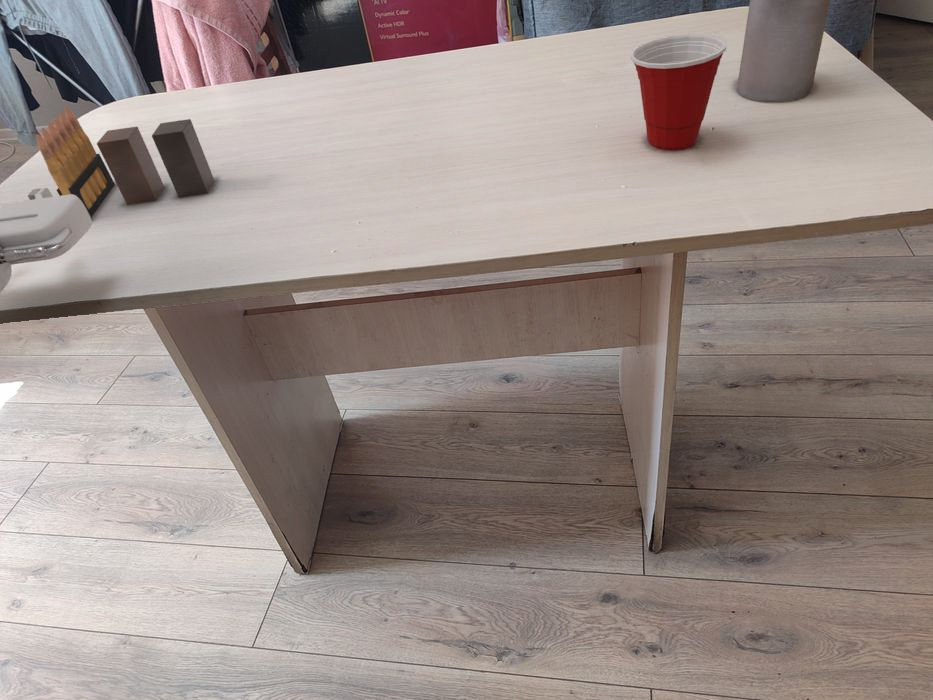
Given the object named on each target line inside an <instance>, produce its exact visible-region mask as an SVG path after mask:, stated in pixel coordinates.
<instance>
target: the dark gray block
mask: <svg viewBox="0 0 933 700" xmlns="http://www.w3.org/2000/svg"><path fill="white" fill-rule="evenodd" d="M151 138H152V140H153V142H154V144H155V147H156V149H157V151H158V153H159V156H160V158H161V160H162V163H163V165H164V168H165V170H166V172H167V174H168V177H169V179H170V182H171V183H172V185H173V188H174V190H175V192H176V195H177V197H178V199H179V198H186V197H193V196H194V197H195V196H200V195H201V196H202V195H208V194H209V192H210V190H211V189H212V186H213V184H214V182H215V178H214V175H213V173H212V170H211V168H210V165H209V163H208V160H207V158H206V154H205V152H204V150H203V147H202V145H201V142H200V139H199V137H198V135H197V132H196V129H195V126H194V124H193V122H192V119H190V118H188V119H181V120H173V121H165V122H161V123H159V124H158V126H157V127H156V129H155V130H154V132H153V133H152V134H151Z"/></svg>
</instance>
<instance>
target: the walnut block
mask: <svg viewBox="0 0 933 700" xmlns="http://www.w3.org/2000/svg"><path fill="white" fill-rule="evenodd" d="M96 145H97V148H98V149H99V152H100V153H101V155H102V158H103V160H104V161H105V164H106V165H107V167H108V170H109V172H110V173H111V176H112V177H113V180H114V183H115V185H116V186H117V187H118V190H119V191H120V194H121V196H122V198H123V200H124V202H125V204H126V205H127V206H129V205H135V204H141V203H142V204H143V203H149V202H156V201H158V199H159V197H160V196H161V194H162V192H163V190H164V188H165V185H164V183H163V179H162V178H161V176H160V174H159V171H158V170H157V167H156V165H155V162H154V160H153V158H152V156H151V154H150V152H149V149H148V146H147V144H146V142H145V140H144V137H143V136H142V133H141V132H140V129H139V126H130V127H124V128H116V129H110V130H109V129H108V130H107V131H106V132H105V133H104V134H103V135H102V136H101V137H100V139H99V140H98V141H97V142H96Z"/></svg>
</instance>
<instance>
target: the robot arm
mask: <svg viewBox="0 0 933 700" xmlns="http://www.w3.org/2000/svg"><path fill="white" fill-rule="evenodd" d="M27 197H28V199H26V200H19V201H11V202H5V203H0V294H1V293H2V292H3V290H4V289H5V288H6V286H8V284H9V282H10V280H11V277H12V272H13V271H12V265H13V266H14V265H20V264H27V263H34V262H41V261H42V262H43V261H47V260H52V259H56V258H58V257H60V256H62V255H65V254H66V253H67V252H68V251H70V250H71V249H72V248H73V247H74V246H76V244H77V243H78V242H80V240H81V239H82V238H83V237H84V236H85V235H86V234H87V232H88V231H90V229H91V228H92V225H93V220H92V217H90V215H89V213H88V211H87V209H86V207H85V206H84V204H83V203H82V201H81V200H80V199H79V198H78V197H77V196H76V195H73V194H69V195H62V196H59V195H56V196H53V195H52V192H51V190H50V189H49V188H48V187H42V188H34V189H32V190H31V192H29V193H28V194H27Z"/></svg>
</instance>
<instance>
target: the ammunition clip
mask: <svg viewBox="0 0 933 700" xmlns="http://www.w3.org/2000/svg"><path fill="white" fill-rule="evenodd" d="M58 117H59V118H57V117H56V116H53V123H51V122H47V128H45V127H42V128H41V134H42V136H41V135H40V134H39V133H36V134H35V140H36V143H37V146H38V149H39V152H40V154H41V155H42V157H43V160H44V162H45V164H46V166H47V169H48V172H49V174H50V175H51V178H52V180H53V181H54V183H55V185H56V186H57V189H56V192H57V194H58V196H62V195H69V194H73V195H76V196H77V197H78V198H79V199H80V200H81V201H82V203H83V204H84V206H85V207H86V209H87V211H88V213H89V215H90V217H91V218H92V217H93V216H94V215H95V213H96V211H97V210H98V209H99V207H100V206H101V205H102V203H103V202H104V200H105V199H106V198H107V196H109V193H110V192H111V191H112V189H113V188H114V187H115V185H116V182H115V180H114V178H112V177H113V176H112V174H110V171H109V169H108V168H107V166H106V163H105V162H104V159H103V157H102V156H101V155H100V153H97V152H96V150H95V147H94V145H93V143H92V141H91V140H90V138H89V136H88V135H87V133H86V132H85V131H84V129H83V127H82V126H81V123H80V122H79V120H78V118H77V116H76V115H75V114H74V112H73V111H72V110H71V109H70V108H69V107H68V106H67V105H65V106H64V113H63V112H62V111H59V112H58ZM47 129H48V130H47Z"/></svg>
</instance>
